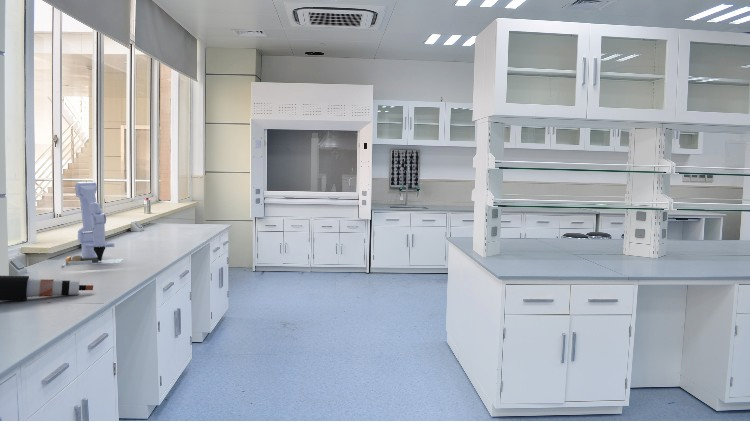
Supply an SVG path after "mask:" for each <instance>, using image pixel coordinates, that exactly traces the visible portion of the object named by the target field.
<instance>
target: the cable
mask: <svg viewBox="0 0 750 422" xmlns="http://www.w3.org/2000/svg"><path fill="white" fill-rule="evenodd" d="M80 282H81V281H80V280H63V279H54V278H53V279H51V278H50V279H48V278H47V279H39V278H38V279H37V278H36V279H34V278H30V275H0V302H12V301H14V302H15V301H17V302H19V301H20V302H23V301H24V302H25V301H27V300H28V298H33V297H34V298H35V297H36V298H37V297H38V298H40V297H56V296H57V297H58V296H59V297H60V296H79V295H80V294H79V291H94V285H93V284H91V285H89V284H88V285H87V284H80Z"/></svg>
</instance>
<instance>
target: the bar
mask: <svg viewBox="0 0 750 422" xmlns="http://www.w3.org/2000/svg"><path fill="white" fill-rule="evenodd" d="M81 261H92V263H94V262H98V257H91V258H81Z"/></svg>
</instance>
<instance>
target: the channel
mask: <svg viewBox="0 0 750 422" xmlns="http://www.w3.org/2000/svg"><path fill="white" fill-rule="evenodd" d="M122 262H123V258H115V259H102V261H98V262H94V263H92V261H73V262H72V256H71V255H70V256H67V257H66V258H65V262H64V263H63V264H62V265H61V268H64V267H66V266H81V265H83V266H85V265H103V264H104V265H105V264H120V263H122Z"/></svg>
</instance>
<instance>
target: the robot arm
mask: <svg viewBox="0 0 750 422" xmlns="http://www.w3.org/2000/svg"><path fill="white" fill-rule="evenodd" d="M74 187H75V188H74V191H75V195H76V198H78V199H79V200H80V210H81V218H82V222H81V223H82V227H81V228H79V229H78V230H77V241H78V243H79V244H80V245H81V256H82V258H91V257H98V261H102V260H103V255H104V252H105V250H106V248H115V245H116V244H115V242H106V228H105V226H106V225H105V224H106V223H107V216H106V213H104V212H103V210H102V208H101V204H100V203H99V202H98V201H97V198H96V194H97V190H98V184H97V182H96V181H82V182H81V181H76V183H75V185H74Z"/></svg>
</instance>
